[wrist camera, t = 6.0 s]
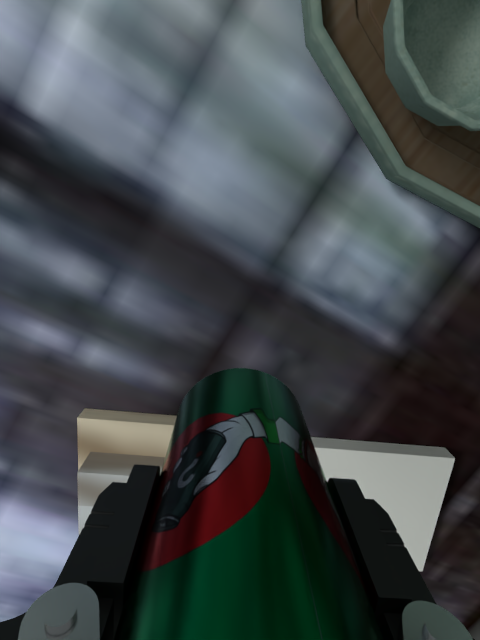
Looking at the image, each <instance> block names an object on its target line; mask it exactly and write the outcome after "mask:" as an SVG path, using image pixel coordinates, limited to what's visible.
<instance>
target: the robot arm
mask: <svg viewBox="0 0 480 640" xmlns="http://www.w3.org/2000/svg"><path fill="white" fill-rule="evenodd" d="M159 478H160V466H153V465H138V464H135V465H134V466H133V468H132V470H131V473H130V475H129V478H128V480H127V483H121V482H112V483H111V484H110V485H109V486H108V487H107V488H106V489H105V490H104V491H103V492H101V493H100V494H99V496H98V498H97V500H96V502H95V504H94V506H93V508H92V510H91V514H89V516H88V518H87V520H86V522H85V525H84V528H83V529H82V531H81V533H80V535H79V537H78V539H77V541H76V543H75V545H74V547H73V549H72V551H71V553H70V555H69V557H68V560H67V562H66V564H65V566H64V568H63V570H62V572H61V574H60V576H59V578H58V580H57V582H56V584H55V586H54V587H53V588H52V589H50V590H49V591H47V592H46V593H44V594H43V595H42V596H40V597H39V598H38V599H37V600H36V601H35V602H34V603H33V604H32V605H31V607H30V608H29V609H28V611H27V612H26V613H24V614H22V615H20V616H18V617H15V618H13V619H10V620H7V621H3V622H0V640H114V637H115V633H116V630H117V626H118V623H119V619H120V615H121V612H122V609H123V606H124V602H125V598H126V595H127V591H128V588H129V584H130V581H131V577H132V574H133V570H134V567H135V563H136V560H137V556H138V552H139V549H140V545H141V542H142V538H143V535H144V531H145V528H146V524H147V521H148V517H149V514H150V510H151V506H152V503H153V499H154V496H155V492H156V489H157V485H158V482H159ZM327 483H328V486H329V489H330V492H331V494H332V497H333V500H334V503H335V506H336V508H337V511H338V514H339V517H340V519H341V522H342V525H343V528H344V530H345V533H346V536H347V539H348V541H349V544H350V547H351V550H352V553H353V555H354V558H355V561H356V564H357V566H358V569H359V572H360V575H361V577H362V580H363V583H364V586H365V588H366V591H367V594H368V597H369V600H370V602H371V605H372V608H373V611H374V613H375V616H376V619H377V622H378V624H379V627H380V630H381V633H382V636H383V638H384V640H474V639H473V638H472V637H471V635H470V634H469V632H468V631H467V629H466V628H465V627H464V626H463V624H462V623H461V622H460V621H459V620H458V619H457V618H456V617H455V616H453V615H452V614H451V613H450V612H448V611H447V610H445V609H444V608H442V607H440V606H438V605H437V604H436V603H435V601H434V599H433V597H432V595H431V593H430V591H429V590H428V588H427V586H426V584H425V582H424V580H423V578H422V576H421V574H420V573H419V571H418V569H417V567H416V565H415V563H414V561H413V559H412V558H411V556H410V554H409V552H408V550H407V548H406V547H404V542H403V541H402V539H401V537H400V535H399V533H397V529H396V527H395V525H394V524H393V522H392V520H391V518H390V516H389V514H388V513H387V512H386V511H385V510H384V509H383V508H382V507H381V506H380V505H379V504H378V503H377V502H376V501H375V500H374V499H365V498H364V495H363V493H362V491H361V489H360V487H359V485H358V483H357V481H356V480H354V479H341V478H329V480H328V482H327Z"/></svg>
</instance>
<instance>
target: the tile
mask: <svg viewBox="0 0 480 640" xmlns="http://www.w3.org/2000/svg"><path fill="white" fill-rule="evenodd" d="M311 439H312V442H313V445H314V447H315V450H316V453H317V456H318V458H319V461H320V464H321V467H322V470H323V472H324V475H325V478H326V481H327V482H328V480H329V478H341V479H354V480H356V481H357V483H358V485H359V487H360V489H361V491H362V493H363V495H364V498H365V499H374V500H375V501H376V502H377V503H378V504H379V505H380V506H381V507H382V508H383V509H384V510H385V511H386V512H387V513H388V514H389V516H390V518H391V520H392V522H393V524H394V525H395V527H396V529H397V533H399V535H400V537H401V539H402V541H403V542H404V547H406V548H407V550H408V552H409V554H410V556H411V558H412V559H413V561H414V563H415V565H416V567H417V569H418V571H423V567H424V564H425V561H426V557H427V554H428V550H429V547H430V543H431V540H432V536H433V533H434V530H435V526H436V523H437V519H438V516H439V512H440V509H441V506H442V502H443V499H444V495H445V492H446V488H447V485H448V482H449V478H450V475H451V471H452V468H453V464H454V461H455V458H454V457H453V455H452V454H451V453H450V452H449V451H448V450H447V449H446V448H445V447H432V446H419V445H407V444H394V443H381V442H369V441H356V440H343V439H331V438H318V437H311Z"/></svg>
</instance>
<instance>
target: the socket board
mask: <svg viewBox="0 0 480 640" xmlns="http://www.w3.org/2000/svg"><path fill="white" fill-rule="evenodd" d="M176 418H177V416H174V415H162V414H149V413H137V412H124V411H112V410H99V409H87V408H85V409H84V410H83V411H82V413H81V414H80V415H79V416H78V418H77V425H78V472H77V473H78V518H79V535H80V533H81V531H82V529H83V528H84V525H85V522H86V520H87V518H88V516H89V514H91V510H92V508H93V506H94V504H95V502H96V500H97V498H98V496H99V494H100V493H101V492H103V491H104V490H105V489H106V488H107V487H108V486H109V485H110V484H111V483H112V482H121V483H127V480H128V478H129V475H130V473H131V470H132V468H133V466H134V465H135V464H138V465H153V466H160V474H161V471H162V467H163V464H164V460H165V457H166V453H167V449H168V446H169V442H170V439H171V435H172V432H173V428H174V425H175V421H176Z"/></svg>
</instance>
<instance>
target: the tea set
mask: <svg viewBox="0 0 480 640" xmlns="http://www.w3.org/2000/svg"><path fill="white" fill-rule="evenodd" d="M301 3H302V13H303V23H304V33H305V42H306V47H307V49H308V50H309V52H310V53H311V55H312V57H313V58H314V60H315V62H316V63H317V65H318V67H319V68H320V70H321V72H322V73H323V75H324V77H325V78H326V80H327V82H328V83H329V85H330V86H331V88H332V90H333V91H334V93H335V95H336V96H337V98H338V100H339V101H340V103H341V105H342V106H343V108H344V110H345V111H346V113H347V115H348V116H349V118H350V119H351V121H352V123H353V124H354V126H355V128H356V129H357V131H358V133H359V134H360V136H361V138H362V139H363V141H364V143H365V144H366V146H367V148H368V149H369V151H370V152H371V154H372V156H373V157H374V159H375V161H376V162H377V164H378V166H379V167H380V169H381V171H382V172H383V174H384V176H385V177H386V179H388V180H390V181H392V182H393V183H395V184H397V185H399V186H401V187H403V188H405V189H407V190H408V191H410V192H412V193H414V194H416V195H418V196H420V197H422V198H424V199H425V200H427V201H429V202H431V203H433V204H435V205H437V206H439V207H440V208H442V209H444V210H446V211H448V212H450V213H452V214H454V215H455V216H457V217H459V218H461V219H463V220H465V221H467V222H469V223H470V224H472V225H474V226H476V227H478V228H480V0H301Z"/></svg>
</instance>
